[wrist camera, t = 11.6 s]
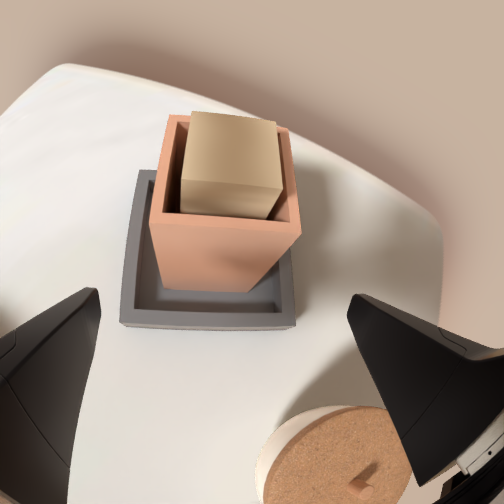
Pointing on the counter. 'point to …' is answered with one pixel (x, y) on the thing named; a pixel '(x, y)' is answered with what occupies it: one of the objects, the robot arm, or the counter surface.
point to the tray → (195, 302)
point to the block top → (230, 167)
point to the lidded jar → (333, 459)
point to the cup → (217, 227)
